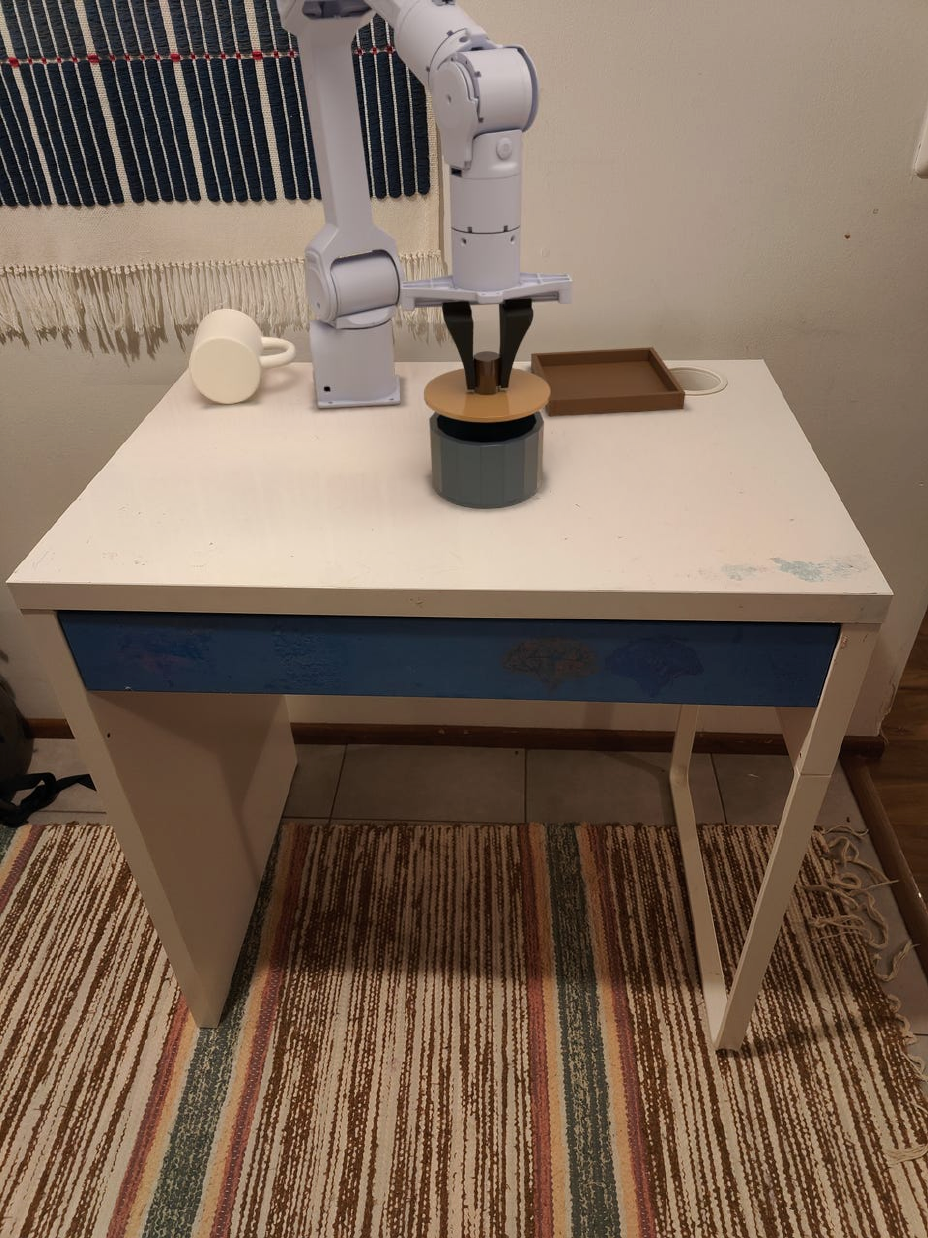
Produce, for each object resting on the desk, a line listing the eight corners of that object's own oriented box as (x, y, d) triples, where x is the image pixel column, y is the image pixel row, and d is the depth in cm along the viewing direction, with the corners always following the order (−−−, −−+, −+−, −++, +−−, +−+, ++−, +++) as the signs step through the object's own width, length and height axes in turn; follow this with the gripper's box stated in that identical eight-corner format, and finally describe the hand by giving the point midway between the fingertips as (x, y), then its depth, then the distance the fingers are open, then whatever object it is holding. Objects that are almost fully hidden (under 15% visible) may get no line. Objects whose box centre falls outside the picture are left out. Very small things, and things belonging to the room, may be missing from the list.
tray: (549, 416, 96) (549, 400, 95) (530, 368, 107) (531, 353, 106) (683, 408, 96) (685, 392, 95) (651, 361, 108) (653, 346, 107)
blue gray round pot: (435, 511, 80) (432, 448, 76) (430, 459, 88) (427, 399, 84) (548, 504, 80) (551, 442, 76) (532, 453, 89) (534, 394, 85)
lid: (427, 432, 75) (424, 384, 72) (421, 380, 84) (419, 336, 81) (559, 425, 75) (562, 377, 73) (539, 374, 84) (541, 330, 82)
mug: (196, 407, 100) (181, 339, 95) (203, 374, 108) (190, 310, 103) (300, 398, 101) (291, 331, 96) (300, 367, 109) (291, 303, 104)
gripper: (397, 241, 67) (408, 406, 75) (583, 233, 67) (573, 398, 76) (396, 219, 72) (406, 375, 80) (567, 212, 73) (559, 367, 81)
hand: (486, 384), depth 78 cm, fingers closed on lid, 2 cm apart
